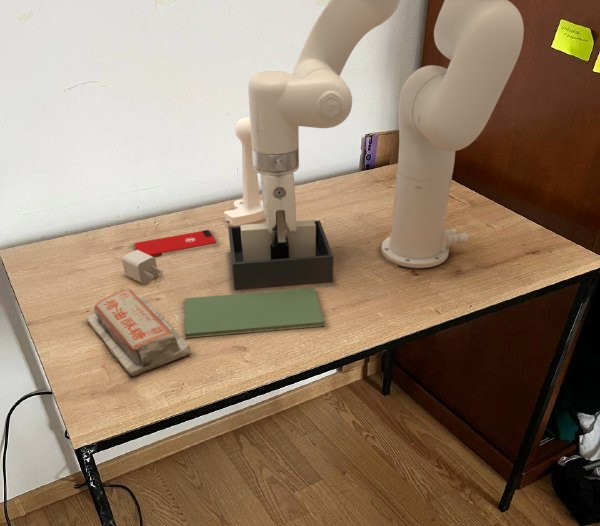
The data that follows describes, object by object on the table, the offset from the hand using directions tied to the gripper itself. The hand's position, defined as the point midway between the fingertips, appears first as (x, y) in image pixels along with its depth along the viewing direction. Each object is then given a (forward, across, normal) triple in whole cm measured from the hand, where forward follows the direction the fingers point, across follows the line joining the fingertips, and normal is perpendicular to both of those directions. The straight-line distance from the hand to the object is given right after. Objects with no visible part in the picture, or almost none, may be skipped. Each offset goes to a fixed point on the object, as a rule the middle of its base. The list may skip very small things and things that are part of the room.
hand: (279, 259), depth 111 cm
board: (+1, 0, 0) cm, 1 cm away
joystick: (+2, +23, +4) cm, 23 cm away
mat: (+2, -14, +6) cm, 16 cm away
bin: (+2, 0, 0) cm, 2 cm away
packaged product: (+2, -18, +24) cm, 31 cm away
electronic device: (+2, +12, +19) cm, 23 cm away
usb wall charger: (+2, 0, +24) cm, 24 cm away
